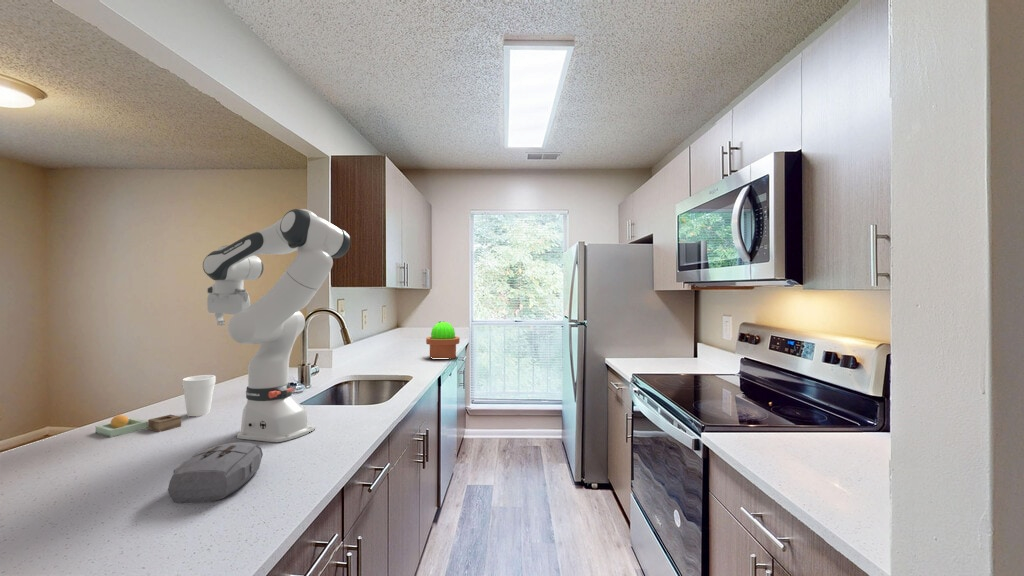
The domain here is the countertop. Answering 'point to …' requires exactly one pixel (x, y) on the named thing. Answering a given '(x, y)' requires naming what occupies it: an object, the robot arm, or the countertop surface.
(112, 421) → the ball
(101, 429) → the tray
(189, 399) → the foam cup
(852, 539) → the countertop surface
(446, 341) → the potted cactus
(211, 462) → the small grey backpack
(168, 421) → the brown wooden box
